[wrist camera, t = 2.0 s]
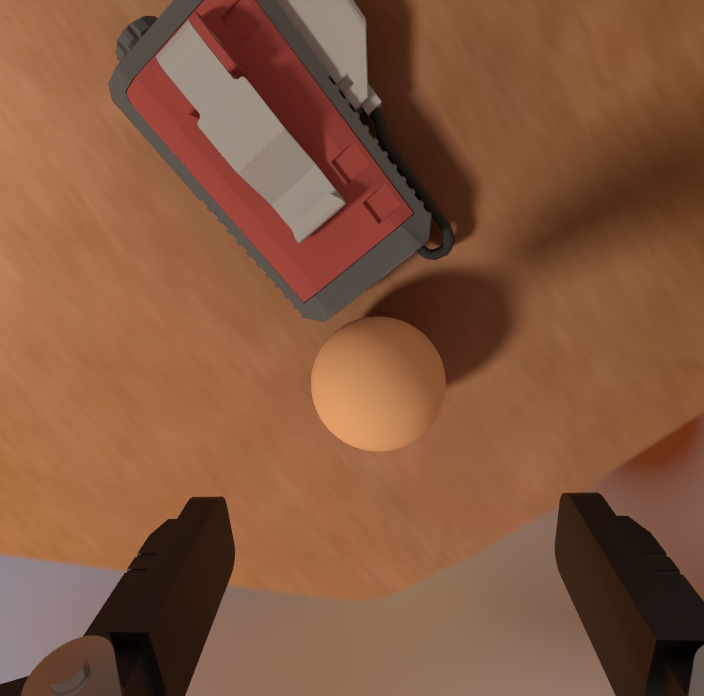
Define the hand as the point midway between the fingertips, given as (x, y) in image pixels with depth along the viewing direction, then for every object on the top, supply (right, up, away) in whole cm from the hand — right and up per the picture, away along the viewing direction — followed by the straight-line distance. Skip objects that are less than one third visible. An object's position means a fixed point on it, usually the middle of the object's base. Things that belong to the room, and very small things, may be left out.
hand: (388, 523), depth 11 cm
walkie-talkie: (-5, +15, +7) cm, 17 cm away
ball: (0, +3, +8) cm, 8 cm away
